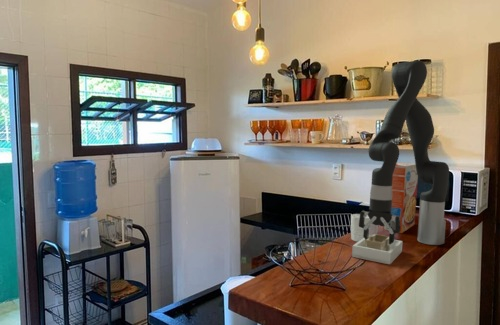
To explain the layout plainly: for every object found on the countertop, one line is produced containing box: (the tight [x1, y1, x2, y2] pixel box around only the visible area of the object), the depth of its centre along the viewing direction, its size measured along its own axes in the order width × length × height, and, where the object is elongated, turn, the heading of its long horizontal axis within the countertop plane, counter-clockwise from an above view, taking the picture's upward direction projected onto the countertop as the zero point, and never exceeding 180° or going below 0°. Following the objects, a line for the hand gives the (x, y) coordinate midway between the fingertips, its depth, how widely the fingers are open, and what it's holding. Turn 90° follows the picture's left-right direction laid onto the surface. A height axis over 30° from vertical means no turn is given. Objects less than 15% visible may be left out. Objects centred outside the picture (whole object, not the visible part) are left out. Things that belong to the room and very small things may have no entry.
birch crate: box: [365, 233, 390, 251], centre depth 142 cm, size 11×6×5 cm, turn 146°
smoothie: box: [369, 224, 380, 236], centre depth 167 cm, size 6×6×14 cm
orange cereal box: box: [382, 162, 419, 234], centre depth 184 cm, size 23×8×30 cm, turn 144°
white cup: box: [350, 213, 370, 243], centre depth 160 cm, size 8×8×10 cm
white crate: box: [351, 235, 403, 265], centre depth 142 cm, size 18×13×4 cm
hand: (378, 241), depth 142 cm, fingers open, 8 cm apart
